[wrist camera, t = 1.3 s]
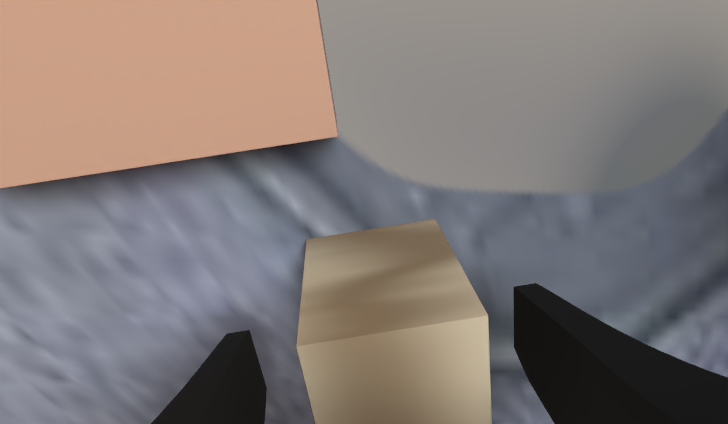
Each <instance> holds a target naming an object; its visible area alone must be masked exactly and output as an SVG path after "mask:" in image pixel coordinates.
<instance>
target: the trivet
mask: <svg viewBox="0 0 728 424" xmlns="http://www.w3.org/2000/svg"><path fill="white" fill-rule="evenodd" d="M332 137H338V131H337V121H336V113H335V107H334V100H333V94H332V88H331V81H330V75H329V69H328V63H327V57H326V50H325V44H324V38H323V32H322V26H321V19H320V14H319V7H318V1H317V0H0V188H5V187H12V186H18V185H25V184H31V183H38V182H44V181H51V180H58V179H64V178H71V177H77V176H84V175H90V174H97V173H103V172H110V171H116V170H123V169H129V168H136V167H142V166H149V165H155V164H162V163H168V162H175V161H182V160H188V159H195V158H201V157H208V156H214V155H221V154H227V153H234V152H240V151H247V150H253V149H260V148H266V147H273V146H279V145H286V144H293V143H299V142H306V141H312V140H319V139H325V138H332Z"/></svg>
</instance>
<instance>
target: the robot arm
mask: <svg viewBox="0 0 728 424" xmlns="http://www.w3.org/2000/svg"><path fill="white" fill-rule="evenodd" d="M514 348H515V350H516V353H517V355H518V357H519V360H520V362H521V364H522V367H523V369H524V371H525V373H526V375H527V377H528V380H529V382H530V383H531V385H532V387H533V388H534V390H535V392H536V393H537V395H538V397H539V399H540V400H541V402H542V404H543V405H544V407H545V409H546V410H547V412H548V413H549V415H550V417H551V418H552V420H553V422H554V423H555V424H728V378H727V377H724V376H721V375H719V374H716V373H713V372H710V371H707V370H705V369H702V368H700V367H697V366H694V365H692V364H689V363H687V362H685V361H682V360H680V359H678V358H675V357H673V356H671V355H668V354H666V353H664V352H661V351H659V350H657V349H655V348H652V347H650V346H648V345H646V344H644V343H642V342H640V341H638V340H636V339H634V338H632V337H630V336H628V335H626V334H624V333H622V332H620V331H618V330H616V329H614V328H613V327H611V326H609V325H607V324H605V323H603V322H602V321H600V320H598V319H596V318H594V317H593V316H591V315H589V314H587V313H586V312H584V311H582V310H581V309H579V308H577V307H575V306H574V305H572V304H570V303H569V302H567V301H565V300H564V299H562V298H560V297H559V296H557V295H555V294H554V293H552V292H550V291H549V290H547V289H545V288H543V287H542V286H540V285H538V284H536V283H535V284H529V285H523V286H517V287H514ZM266 389H267V388H266V385H265V381H264V378H263V374H262V371H261V368H260V364H259V361H258V358H257V354H256V351H255V347H254V344H253V341H252V337H251V334H250V330H247V331H241V332H235V333H229V334H226V336H225V337H224V338H223V339H222V340H221V342H220V343H219V344H218V345H217V347H216V348H215V349H214V350H213V352H212V353H211V354H210V355H209V357H208V358H207V359H206V361H205V362H204V363H203V364H202V366H201V367H200V368H199V369H198V371H197V372H196V373H195V374H194V375H193V377H192V378H191V379H190V380H189V382H188V383H187V384H186V385H185V386H184V388H183V389H182V390H181V391H180V392H179V393H178V394H177V396H176V397H175V398H174V399H173V400H172V401H171V402H170V403H169V405H168V406H167V407H166V408H165V409H164V410H163V411H162V412H161V413H160V415H159V416H158V417H157V418H156V419H155V420H154V421H153V422H152V423H151V424H264V421H265V408H266Z"/></svg>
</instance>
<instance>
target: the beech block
mask: <svg viewBox="0 0 728 424" xmlns="http://www.w3.org/2000/svg"><path fill="white" fill-rule="evenodd" d="M296 347H297V351H298V355H299V359H300V363H301V367H302V371H303V375H304V379H305V383H306V387H307V391H308V395H309V399H310V403H311V407H312V411H313V415H314V419H315V423H316V424H492V414H491V385H490V356H489V328H488V314H487V313H486V311H485V309H484V307H483V305H482V304H481V302H480V300H479V298H478V296H477V294H476V293H475V291H474V289H473V287H472V285H471V283H470V282H469V280H468V278H467V276H466V274H465V272H464V271H463V269H462V267H461V265H460V263H459V261H458V260H457V258H456V256H455V254H454V252H453V251H452V249H451V247H450V245H449V243H448V241H447V240H446V238H445V236H444V234H443V232H442V230H441V229H440V227H439V225H438V223H437V221H436V219H433V220H426V221H420V222H414V223H407V224H401V225H395V226H388V227H382V228H376V229H369V230H363V231H356V232H350V233H344V234H337V235H331V236H325V237H318V238H312V239H307V242H306V252H305V262H304V273H303V283H302V294H301V304H300V314H299V325H298V335H297V346H296Z"/></svg>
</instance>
